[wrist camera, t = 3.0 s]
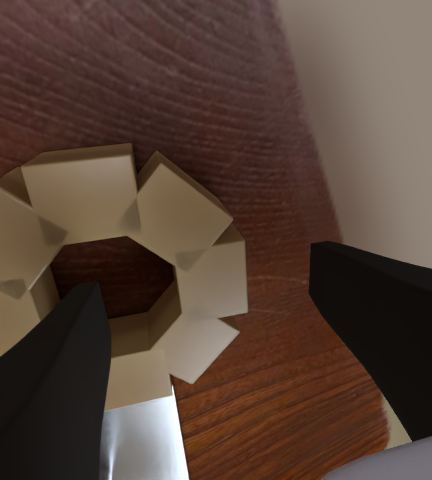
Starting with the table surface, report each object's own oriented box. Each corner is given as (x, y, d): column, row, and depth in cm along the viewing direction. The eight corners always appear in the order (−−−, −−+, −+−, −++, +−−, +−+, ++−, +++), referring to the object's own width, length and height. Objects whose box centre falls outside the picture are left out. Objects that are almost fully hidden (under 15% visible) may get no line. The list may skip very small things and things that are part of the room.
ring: (221, 132, 12) (241, 141, 10) (235, 339, 16) (251, 377, 14) (-67, 163, 11) (-118, 181, 9) (23, 383, 14) (4, 434, 12)
